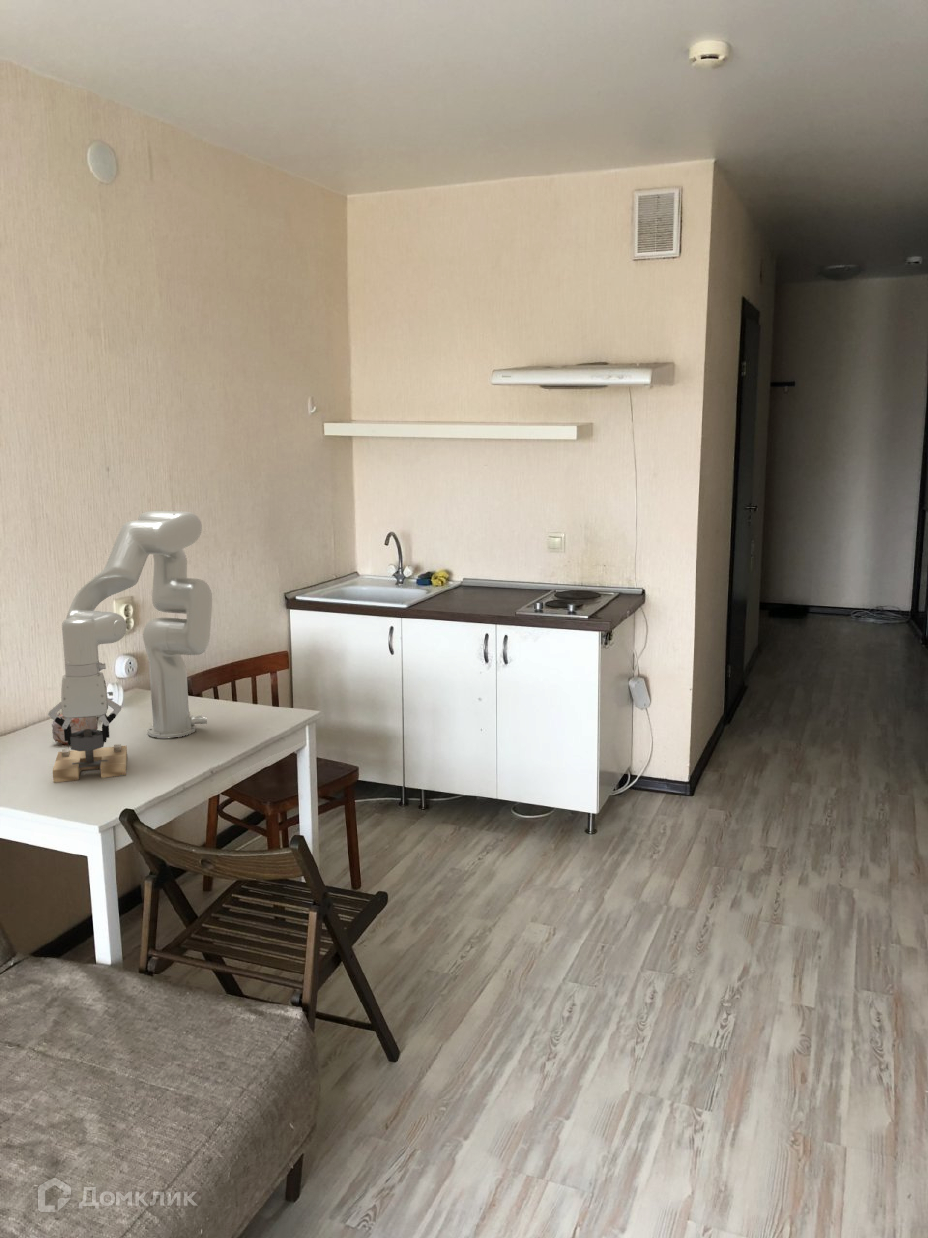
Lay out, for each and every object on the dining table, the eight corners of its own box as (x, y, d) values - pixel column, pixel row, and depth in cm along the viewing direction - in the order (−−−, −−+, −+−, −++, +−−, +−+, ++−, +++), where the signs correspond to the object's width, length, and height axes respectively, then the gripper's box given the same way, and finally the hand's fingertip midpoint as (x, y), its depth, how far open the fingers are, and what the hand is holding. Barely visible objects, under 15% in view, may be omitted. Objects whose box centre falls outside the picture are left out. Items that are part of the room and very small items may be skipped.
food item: (81, 747, 257) (78, 710, 255) (51, 747, 257) (47, 710, 255) (100, 731, 270) (98, 696, 269) (71, 731, 270) (68, 696, 269)
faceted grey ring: (104, 740, 239) (103, 728, 239) (102, 749, 233) (102, 737, 232) (72, 743, 237) (71, 731, 237) (70, 752, 231) (69, 739, 230)
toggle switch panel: (127, 756, 249) (124, 714, 247) (125, 775, 236) (122, 731, 233) (59, 763, 244) (55, 720, 242) (53, 782, 231) (49, 737, 229)
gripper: (122, 663, 238) (126, 734, 241) (44, 668, 233) (49, 741, 236) (120, 670, 231) (125, 743, 234) (40, 675, 226) (46, 750, 229)
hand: (87, 741), depth 235 cm, fingers closed on faceted grey ring, 7 cm apart
